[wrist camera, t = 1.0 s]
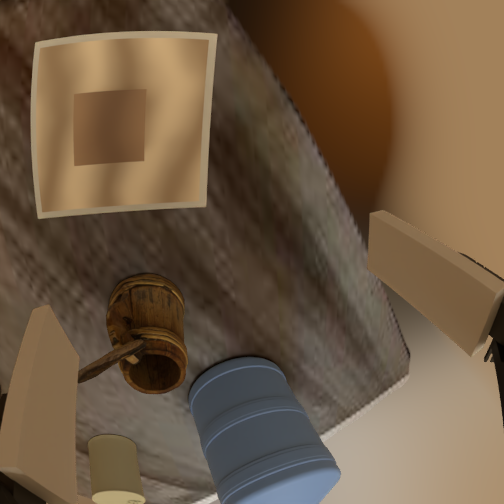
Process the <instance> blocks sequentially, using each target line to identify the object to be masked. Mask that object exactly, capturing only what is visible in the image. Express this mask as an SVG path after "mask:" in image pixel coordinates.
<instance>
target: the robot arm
mask: <svg viewBox="0 0 504 504" xmlns="http://www.w3.org/2000/svg"><path fill="white" fill-rule="evenodd" d="M367 269H368V270H369V271H371V272H372V273H373V274H374V275H375V276H377V277H378V278H379V279H380V280H382V281H383V282H384V283H385V284H387V285H388V286H389V287H390V288H391V289H393V290H394V291H395V292H397V293H398V294H399V295H400V296H401V297H402V298H404V299H405V300H406V301H407V302H409V303H410V304H411V305H412V306H413V307H414V308H416V309H417V310H418V311H419V312H420V313H422V314H423V315H424V316H425V317H426V318H427V319H429V320H430V321H431V322H432V323H433V324H434V325H435V326H437V327H438V328H439V329H440V330H441V331H442V332H444V333H445V334H446V335H447V336H448V337H449V338H450V339H451V340H453V341H454V342H455V343H456V344H457V345H458V346H459V347H460V348H462V349H463V350H464V351H465V352H466V353H467V354H468V355H469V356H470V357H472V356H473V355H474V354H476V353H477V352H478V351H479V350H480V349H482V348H483V346H484V344H485V342H486V340H487V337H488V335H490V336H491V337H492V338H493V340H492V342H491V345H490V347H489V349H488V351H487V353H486V355H485V357H484V362H487V360H488V358H489V356H490V354H491V353H492V354H493V356H492V358H491V361H490V362H494V363H495V369H496V374H497V380H498V385H499V392H500V400H501V407H502V416H503V426H504V279H502V278H501V277H499V276H498V275H496V274H495V273H493V272H492V271H490V270H489V269H487V268H486V267H485V268H484V267H483V265H481V264H479V263H476V262H475V260H473V259H472V258H470V257H468V256H467V255H464V254H462V253H459V252H456V251H455V250H453V249H451V248H450V247H448V246H447V245H445V244H443V243H442V242H440V241H438V240H436V239H435V238H433V237H431V236H429V235H428V234H426V233H424V232H422V231H421V230H419V229H417V228H416V227H414V226H412V225H410V224H408V223H407V222H405V221H403V220H401V219H399V218H397V217H396V216H394V215H392V214H390V213H388V212H386V211H384V210H381V211H377V212H374V213H370V225H369V247H368V263H367ZM79 359H80V357H79V356H78V354H77V352H76V351H75V349H74V348H73V346H72V344H71V343H70V341H69V339H68V337H67V336H66V334H65V332H64V331H63V329H62V327H61V325H60V323H59V322H58V320H57V318H56V316H55V314H54V312H53V311H52V309H51V307H50V305H45V306H42V307H38V308H35V309H33V311H32V313H31V316H30V319H29V322H28V325H27V328H26V331H25V334H24V337H23V340H22V343H21V346H20V350H19V353H18V356H17V360H16V363H15V367H14V371H13V374H12V378H11V382H10V386H9V390H8V393H7V394H2V396H1V387H0V504H46V502H47V503H48V504H78V496H77V482H76V456H75V425H76V398H77V382H78V370H79Z"/></svg>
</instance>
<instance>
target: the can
mask: <svg viewBox="0 0 504 504" xmlns="http://www.w3.org/2000/svg"><path fill="white" fill-rule="evenodd" d="M88 448H89V461H90V476H91V489H92V500H93V501H94V502H96V503H97V504H143V503H144V502H145V497H144V493H143V488H142V483H141V478H140V473H139V467H138V461H137V453H136V449H137V448H136V445H135V443H134V442H133V441H131V440H130V439H128V438H126V437H123V436H119V435H112V434H105V435H98V436H95V437H93V438H91V439H90V440H89V442H88Z"/></svg>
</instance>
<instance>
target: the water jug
mask: <svg viewBox="0 0 504 504" xmlns="http://www.w3.org/2000/svg"><path fill="white" fill-rule="evenodd" d="M189 407H190V410H191V413H192V415H193V417H194V419H195V423H196V426H197V429H198V433H199V436H200V442H201V447H202V450H203V453H204V456H205V458H206V460H207V462H208V465H209V468H210V471H211V474H212V477H213V480H214V483H215V486H216V489H217V495H218V498H219V500H220V503H221V504H319V502H321V500H322V499H323V498H324V497H325V496H326V495H327V494H328V493H329V492H330V490H331V489H332V488H333V487H334V486H335V484H336V483H337V482H338V480H339V479H340V475H341V472H340V469H339V468H338V466H337V465H336V461H335V459H334V458H333V456H332V454H331V453H330V452H329V450H328V449H327V447H325V446H324V444H323V442H322V441H321V439H320V437H319V436H318V434H317V432H316V431H315V429H314V427H313V426H312V424H311V422H310V420H309V417H308V415H307V413H306V412H305V410H304V408H303V407H302V405H301V404H300V403H299V402H298V400H297V399H296V397H295V395H294V394H293V392H292V390H291V388H290V387H289V385H288V383H287V381H286V378H285V376H284V374H283V372H282V371H281V370H280V368H279V367H278V366H277V365H276V364H274V363H273V362H271V361H269V360H266V359H263V358H258V357H242V358H236V359H232V360H228V361H225V362H223V363H220V364H218V365H216V366H214V367H212V368H211V369H209V370H208V371H206V372H205V373H204V374H202V375H201V376H200V377H199V378H198V379H197V380H196V382H195V383H194V384H193V386H192V388H191V390H190V393H189Z"/></svg>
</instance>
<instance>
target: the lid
mask: <svg viewBox="0 0 504 504" xmlns="http://www.w3.org/2000/svg"><path fill="white" fill-rule="evenodd" d="M208 45H209V40H202V39H184V38H128V39H110V40H97V41H87V42H78V43H70V44H63V45H56V46H50V47H44V48H40V53H39V64H38V76H37V96H36V145H37V164H38V178H39V189H40V198H41V207H42V212H51V211H62V210H72V209H83V208H95V207H108V206H122V205H137V204H153V203H172V202H193V201H199V189H200V162H201V141H202V124H203V108H204V93H205V80H206V68H207V56H208Z"/></svg>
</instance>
